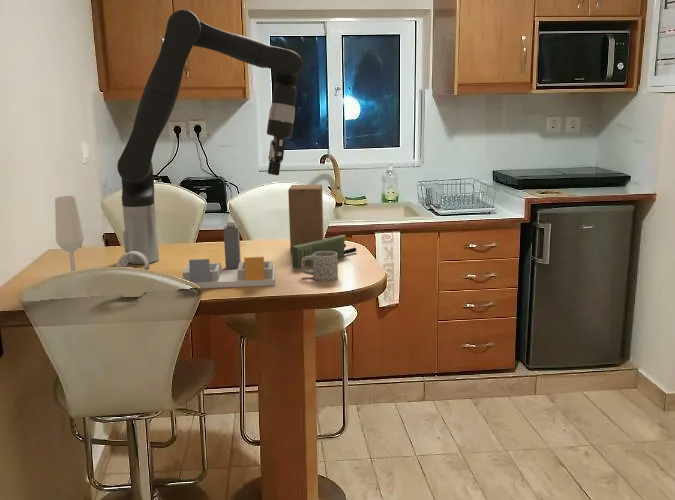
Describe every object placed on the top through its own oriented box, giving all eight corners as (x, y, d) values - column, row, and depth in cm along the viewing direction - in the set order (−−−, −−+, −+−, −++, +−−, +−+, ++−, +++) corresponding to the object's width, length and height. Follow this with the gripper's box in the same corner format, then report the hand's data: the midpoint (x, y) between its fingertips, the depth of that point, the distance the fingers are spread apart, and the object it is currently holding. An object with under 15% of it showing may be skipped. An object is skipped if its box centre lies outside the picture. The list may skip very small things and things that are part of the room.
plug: (225, 269, 192) (223, 223, 189) (227, 266, 196) (224, 220, 193) (240, 269, 192) (237, 222, 189) (240, 265, 196) (238, 220, 193)
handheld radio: (290, 268, 193) (351, 252, 211) (298, 270, 191) (358, 254, 208) (290, 245, 192) (351, 231, 209) (298, 247, 190) (359, 233, 207)
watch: (123, 291, 173) (119, 249, 170) (154, 291, 172) (150, 249, 170) (115, 297, 168) (110, 254, 165) (146, 297, 167) (142, 254, 164)
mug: (340, 275, 184) (339, 251, 183) (334, 281, 178) (334, 257, 176) (304, 273, 186) (304, 250, 185) (298, 280, 180) (297, 255, 179)
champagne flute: (76, 292, 172) (66, 199, 167) (55, 290, 175) (44, 198, 169) (94, 285, 178) (84, 195, 173) (74, 283, 181) (64, 195, 175)
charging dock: (181, 289, 174) (178, 260, 172) (187, 276, 185) (185, 250, 184) (274, 285, 175) (273, 257, 174) (275, 273, 187) (274, 246, 185)
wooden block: (322, 252, 211) (320, 188, 206) (290, 252, 211) (288, 189, 207) (323, 245, 221) (322, 184, 216) (293, 245, 221) (291, 184, 216)
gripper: (265, 119, 207) (258, 172, 208) (271, 116, 193) (263, 173, 195) (289, 124, 209) (282, 176, 210) (297, 121, 195) (288, 177, 197)
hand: (273, 174), depth 202 cm, fingers open, 8 cm apart
